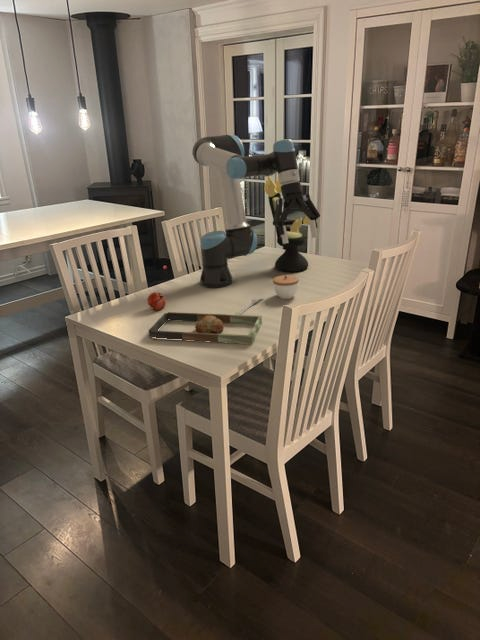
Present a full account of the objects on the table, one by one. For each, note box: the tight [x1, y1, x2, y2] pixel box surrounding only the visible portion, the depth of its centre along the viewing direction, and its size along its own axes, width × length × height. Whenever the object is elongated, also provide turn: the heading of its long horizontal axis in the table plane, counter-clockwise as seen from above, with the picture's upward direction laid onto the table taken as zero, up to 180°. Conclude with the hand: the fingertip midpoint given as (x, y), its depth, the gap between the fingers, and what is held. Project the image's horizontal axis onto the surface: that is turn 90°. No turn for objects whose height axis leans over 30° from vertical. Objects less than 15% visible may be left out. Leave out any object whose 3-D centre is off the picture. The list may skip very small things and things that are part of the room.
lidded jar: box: [272, 274, 300, 300], centre depth 202 cm, size 11×11×9 cm
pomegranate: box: [146, 292, 167, 311], centre depth 198 cm, size 7×7×10 cm
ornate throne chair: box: [263, 176, 311, 273], centre depth 232 cm, size 19×22×45 cm
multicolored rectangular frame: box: [148, 311, 263, 345], centre depth 175 cm, size 18×38×3 cm, turn 77°
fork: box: [233, 297, 263, 315], centre depth 196 cm, size 3×21×3 cm, turn 147°
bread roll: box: [194, 315, 224, 334], centre depth 175 cm, size 10×10×8 cm
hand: (300, 240), depth 181 cm, fingers open, 13 cm apart
